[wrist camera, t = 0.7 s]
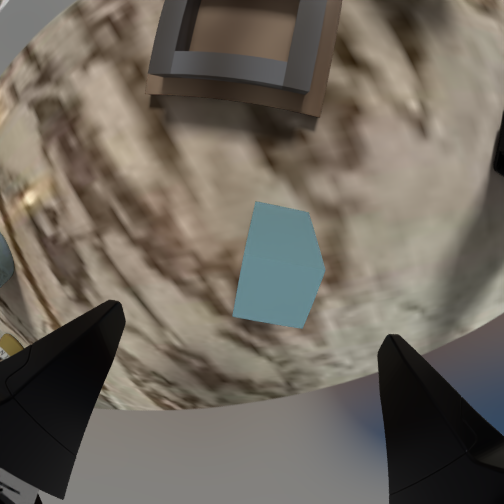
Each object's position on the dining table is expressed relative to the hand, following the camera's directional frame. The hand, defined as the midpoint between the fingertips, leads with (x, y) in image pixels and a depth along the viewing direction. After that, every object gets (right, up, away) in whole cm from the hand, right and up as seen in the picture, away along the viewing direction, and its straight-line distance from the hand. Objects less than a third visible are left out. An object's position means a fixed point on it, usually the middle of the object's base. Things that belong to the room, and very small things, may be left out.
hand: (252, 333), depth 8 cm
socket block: (0, +18, +5) cm, 19 cm away
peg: (+2, +4, +13) cm, 13 cm away
